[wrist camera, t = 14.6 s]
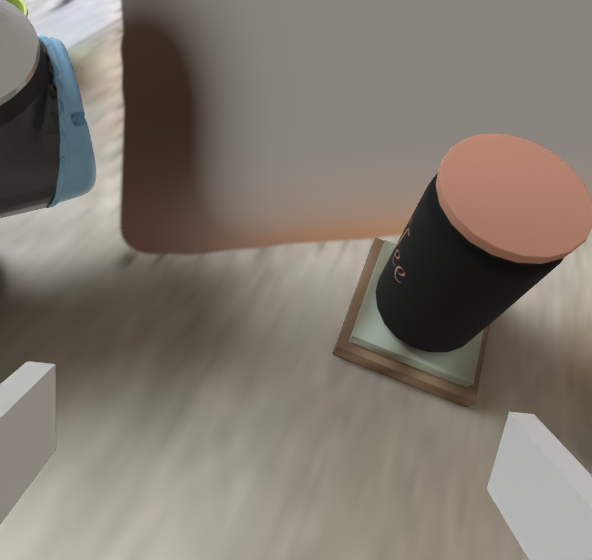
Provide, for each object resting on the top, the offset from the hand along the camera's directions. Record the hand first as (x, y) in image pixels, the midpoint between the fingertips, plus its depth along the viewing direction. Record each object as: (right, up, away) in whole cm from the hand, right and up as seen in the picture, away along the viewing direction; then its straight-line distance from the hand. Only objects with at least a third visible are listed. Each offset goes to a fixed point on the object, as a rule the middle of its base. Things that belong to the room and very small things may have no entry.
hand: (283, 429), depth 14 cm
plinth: (+13, 0, +37) cm, 39 cm away
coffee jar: (+13, +2, +34) cm, 36 cm away
